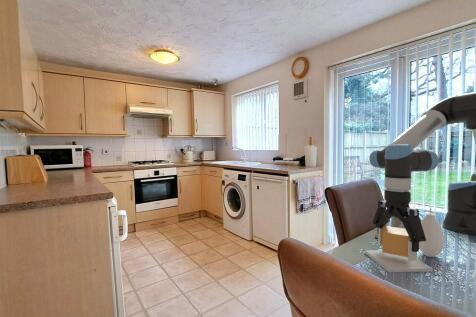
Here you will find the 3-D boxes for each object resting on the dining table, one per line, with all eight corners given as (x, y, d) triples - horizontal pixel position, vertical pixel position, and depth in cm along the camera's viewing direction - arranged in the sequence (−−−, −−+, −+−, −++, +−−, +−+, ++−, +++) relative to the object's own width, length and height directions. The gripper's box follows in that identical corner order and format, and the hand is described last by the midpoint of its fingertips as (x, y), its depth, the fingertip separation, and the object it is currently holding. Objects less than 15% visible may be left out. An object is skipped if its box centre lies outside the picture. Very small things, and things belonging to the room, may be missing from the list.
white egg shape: (447, 262, 81) (448, 210, 80) (418, 258, 84) (419, 208, 84) (439, 253, 88) (441, 205, 87) (413, 249, 91) (414, 203, 91)
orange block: (411, 258, 76) (411, 236, 76) (382, 252, 81) (382, 232, 80) (409, 249, 83) (409, 229, 83) (382, 244, 88) (383, 225, 87)
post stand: (399, 236, 105) (400, 211, 105) (419, 246, 94) (419, 218, 94) (375, 236, 105) (375, 211, 104) (392, 247, 94) (392, 219, 93)
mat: (401, 252, 89) (401, 249, 89) (432, 271, 75) (432, 268, 75) (364, 253, 89) (364, 250, 89) (389, 272, 75) (389, 269, 75)
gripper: (442, 195, 70) (440, 267, 71) (379, 184, 93) (378, 238, 94) (422, 197, 69) (420, 270, 70) (362, 185, 92) (361, 240, 93)
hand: (396, 252), depth 82 cm, fingers closed on orange block, 11 cm apart
